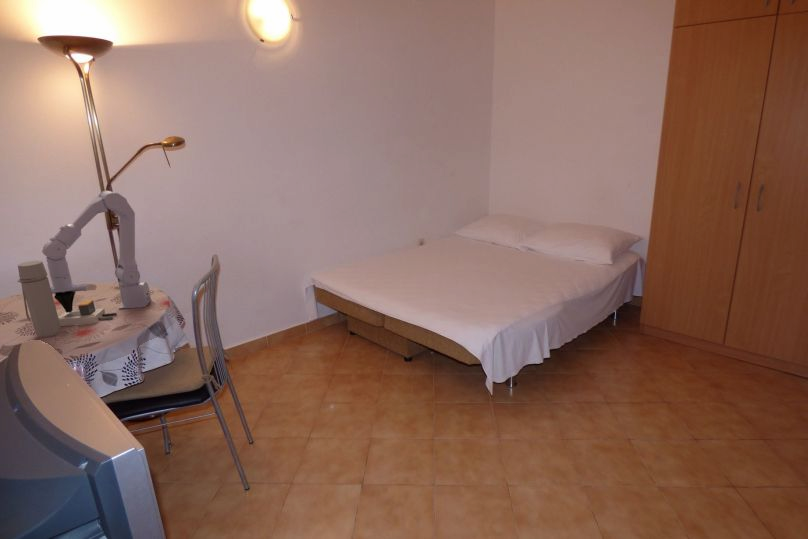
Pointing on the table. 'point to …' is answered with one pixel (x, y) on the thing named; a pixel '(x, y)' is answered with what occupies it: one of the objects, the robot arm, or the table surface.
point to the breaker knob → (86, 307)
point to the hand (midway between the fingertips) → (69, 311)
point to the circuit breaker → (80, 317)
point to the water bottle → (39, 298)
